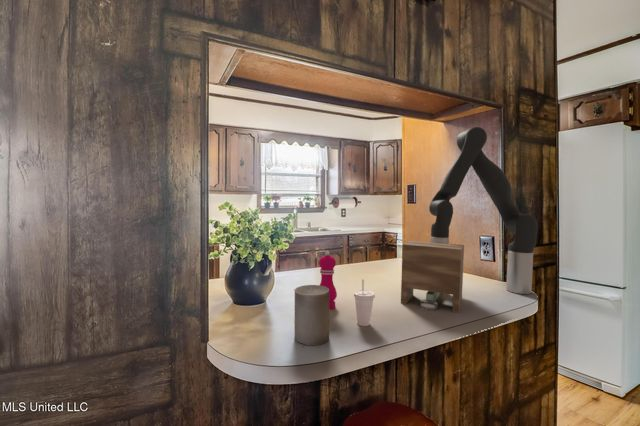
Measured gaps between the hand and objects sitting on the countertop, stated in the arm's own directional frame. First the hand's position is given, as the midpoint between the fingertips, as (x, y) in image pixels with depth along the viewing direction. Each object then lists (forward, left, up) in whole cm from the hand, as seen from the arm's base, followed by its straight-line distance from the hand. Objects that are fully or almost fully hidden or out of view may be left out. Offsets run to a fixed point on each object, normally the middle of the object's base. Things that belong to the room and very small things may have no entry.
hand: (437, 288), depth 138 cm
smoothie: (+49, -15, -2) cm, 51 cm away
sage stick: (+8, 0, -1) cm, 8 cm away
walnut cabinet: (+17, 0, -1) cm, 17 cm away
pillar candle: (+66, -24, -2) cm, 70 cm away
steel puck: (+22, 0, -2) cm, 22 cm away
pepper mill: (+41, -32, -2) cm, 52 cm away
